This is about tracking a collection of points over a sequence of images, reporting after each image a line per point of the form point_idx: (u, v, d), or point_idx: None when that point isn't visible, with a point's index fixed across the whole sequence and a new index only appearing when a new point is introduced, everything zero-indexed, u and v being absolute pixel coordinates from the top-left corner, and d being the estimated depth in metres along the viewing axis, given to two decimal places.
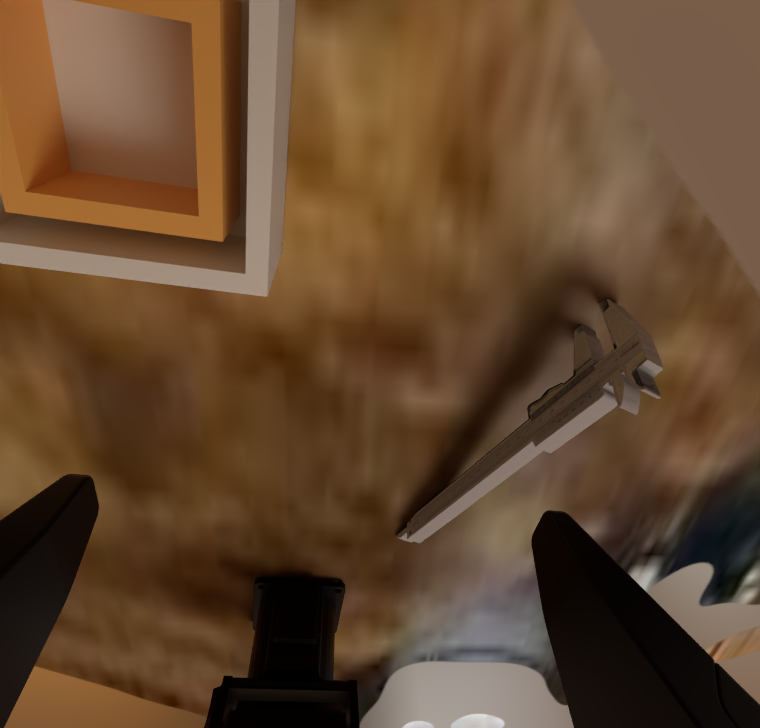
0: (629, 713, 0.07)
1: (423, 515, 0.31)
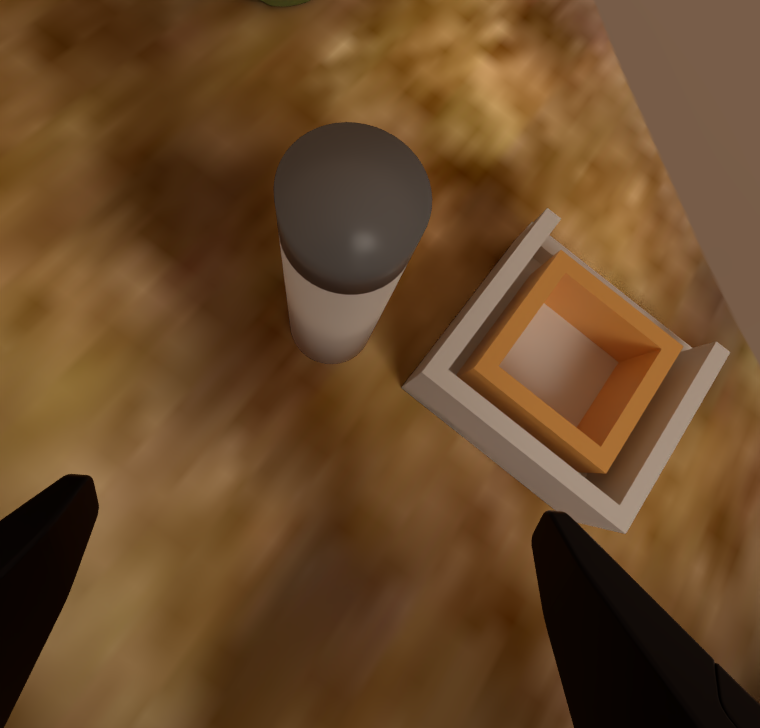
0: (629, 713, 0.07)
1: None
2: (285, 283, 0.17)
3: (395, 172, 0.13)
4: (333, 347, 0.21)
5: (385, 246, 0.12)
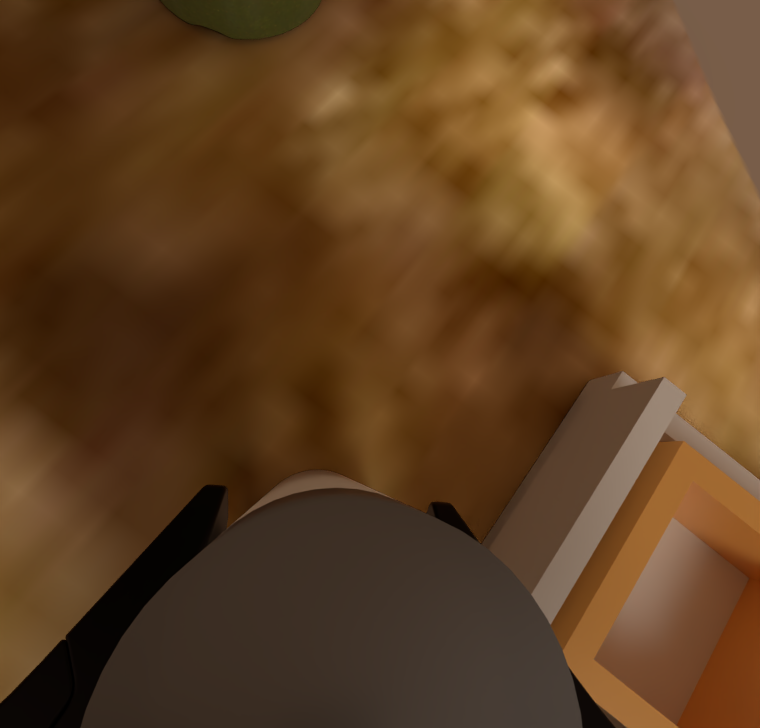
0: None
1: None
2: None
3: (472, 664, 0.04)
4: None
5: None
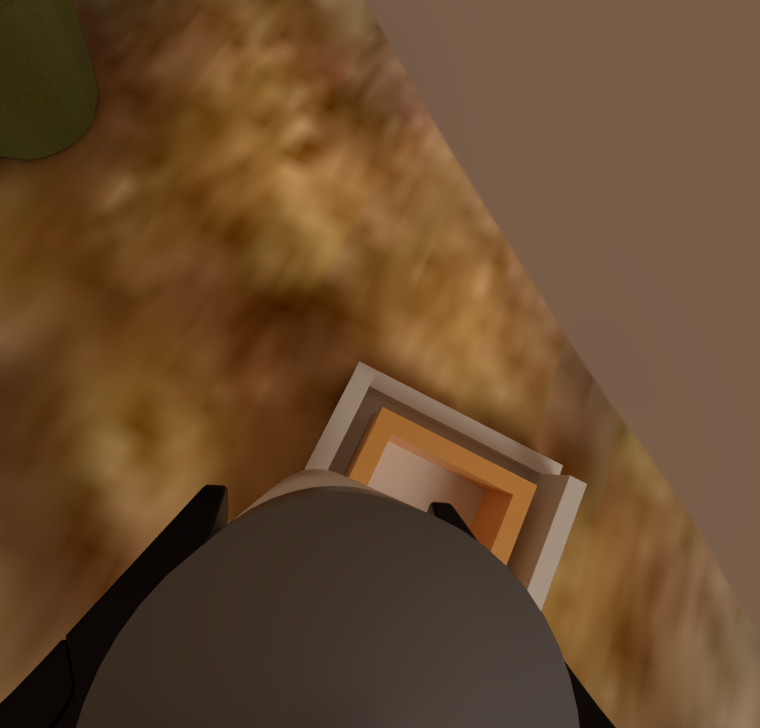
0: None
1: None
2: None
3: (468, 661, 0.04)
4: None
5: None
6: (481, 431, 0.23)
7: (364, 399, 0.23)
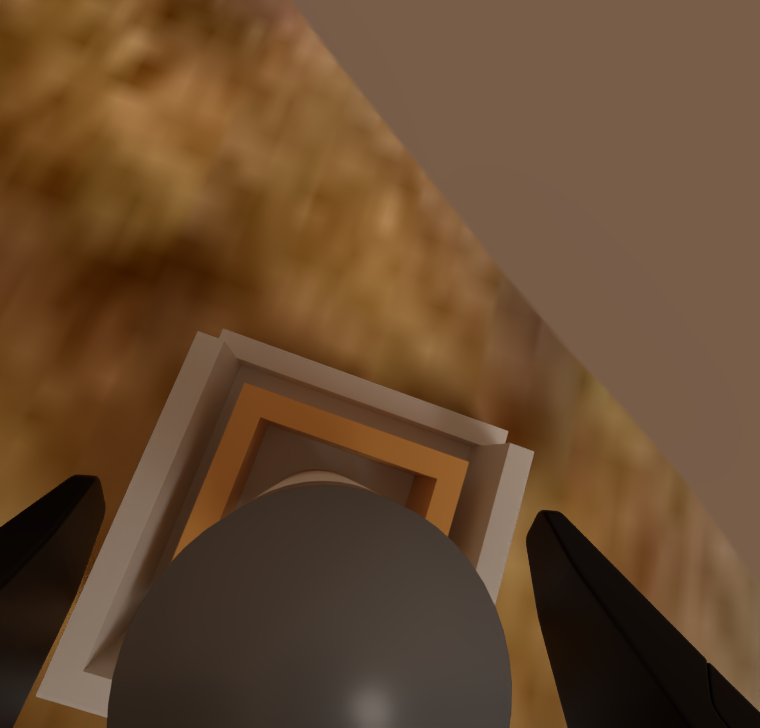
0: (622, 713, 0.07)
1: None
2: None
3: (422, 617, 0.05)
4: None
5: None
6: (396, 400, 0.17)
7: (242, 378, 0.18)
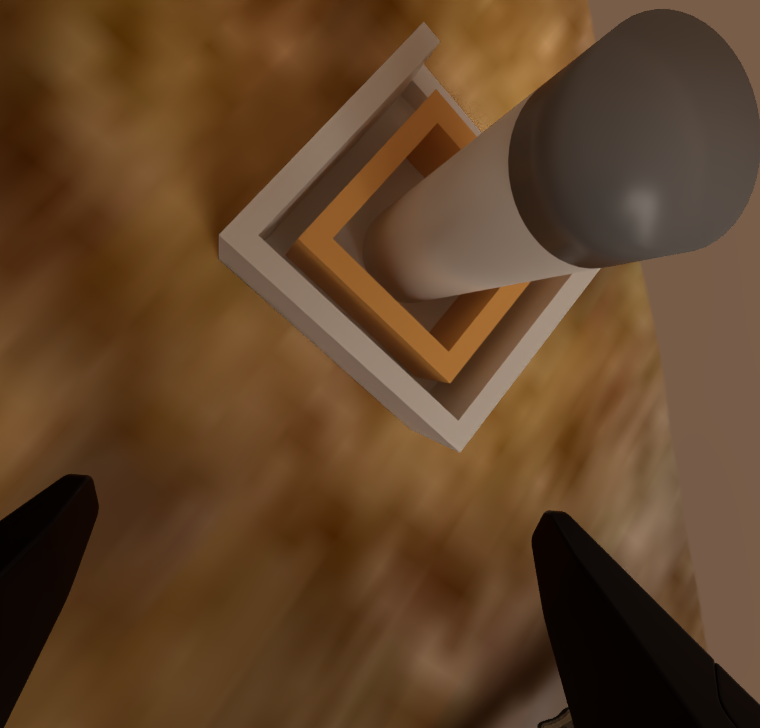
0: (629, 713, 0.07)
1: None
2: (438, 195, 0.13)
3: (729, 130, 0.09)
4: (426, 289, 0.17)
5: (681, 228, 0.08)
6: None
7: (398, 107, 0.20)
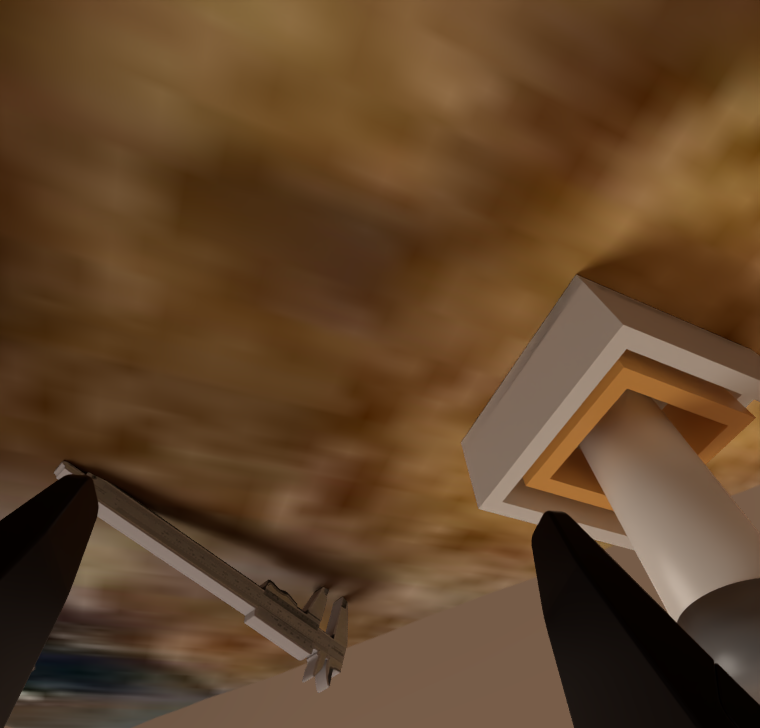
0: (629, 713, 0.07)
1: (116, 498, 0.27)
2: (692, 495, 0.18)
3: None
4: (597, 460, 0.22)
5: None
6: None
7: None
